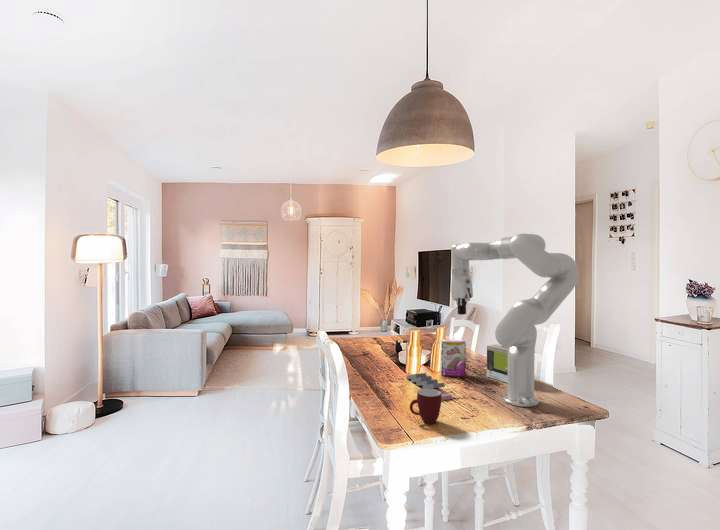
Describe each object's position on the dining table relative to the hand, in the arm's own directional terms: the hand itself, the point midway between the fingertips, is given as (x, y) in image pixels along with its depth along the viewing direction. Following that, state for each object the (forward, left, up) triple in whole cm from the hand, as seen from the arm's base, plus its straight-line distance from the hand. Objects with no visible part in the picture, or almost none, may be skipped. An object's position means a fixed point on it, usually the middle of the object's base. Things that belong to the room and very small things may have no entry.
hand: (461, 314), depth 173 cm
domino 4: (-7, +16, -30) cm, 35 cm away
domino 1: (+7, +21, -30) cm, 37 cm away
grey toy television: (+6, -22, -31) cm, 38 cm away
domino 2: (+2, +20, -30) cm, 36 cm away
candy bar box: (+12, +1, -31) cm, 33 cm away
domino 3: (-2, +18, -30) cm, 35 cm away
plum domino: (-11, +14, -30) cm, 35 cm away
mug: (-42, +21, -31) cm, 56 cm away
